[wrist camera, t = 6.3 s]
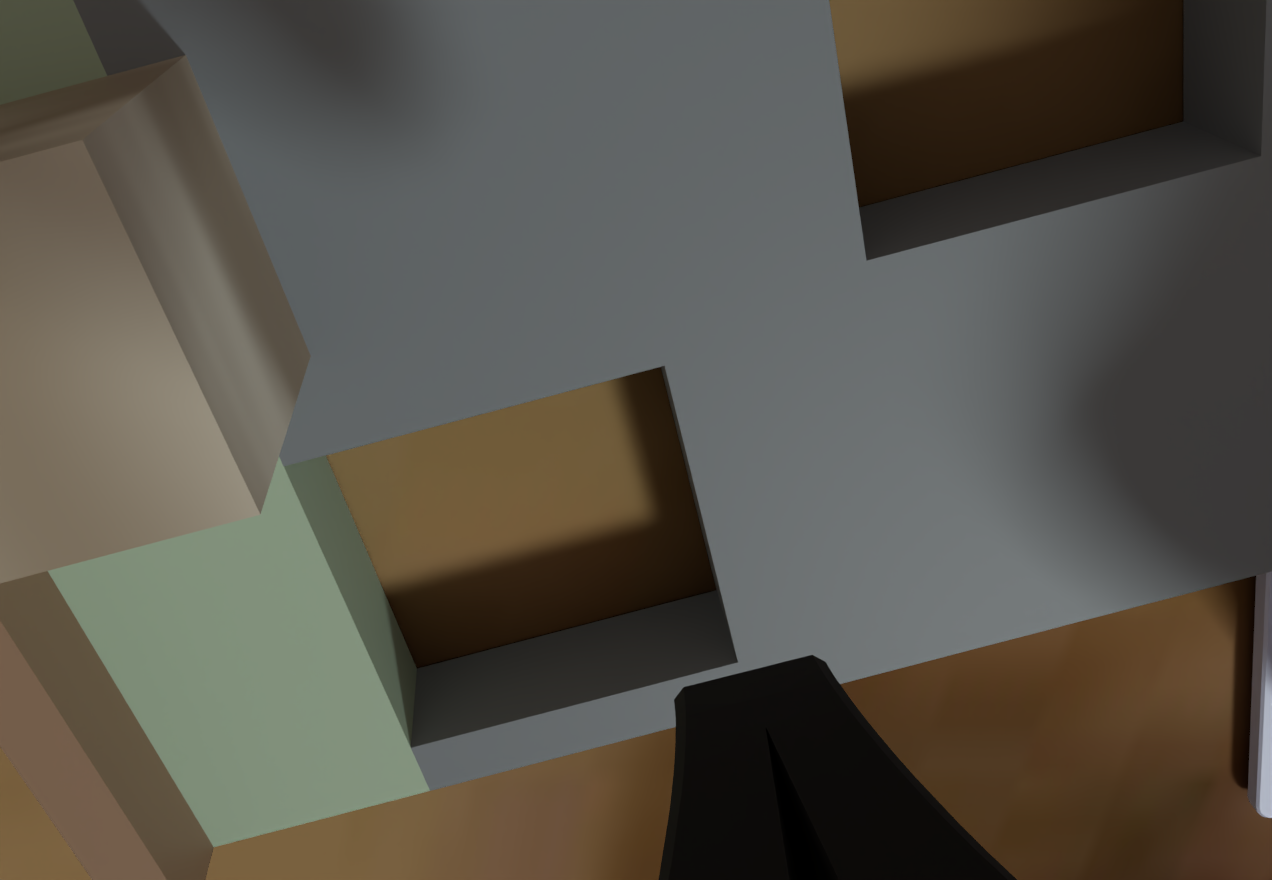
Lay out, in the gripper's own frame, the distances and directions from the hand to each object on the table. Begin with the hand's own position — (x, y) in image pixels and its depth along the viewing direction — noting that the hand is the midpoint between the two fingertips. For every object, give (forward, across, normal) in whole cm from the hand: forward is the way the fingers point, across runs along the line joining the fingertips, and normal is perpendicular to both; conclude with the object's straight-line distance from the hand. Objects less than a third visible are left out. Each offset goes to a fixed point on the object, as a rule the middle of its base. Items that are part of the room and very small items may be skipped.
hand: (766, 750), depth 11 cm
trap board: (+9, 0, -2) cm, 9 cm away
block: (+6, +6, -4) cm, 10 cm away
